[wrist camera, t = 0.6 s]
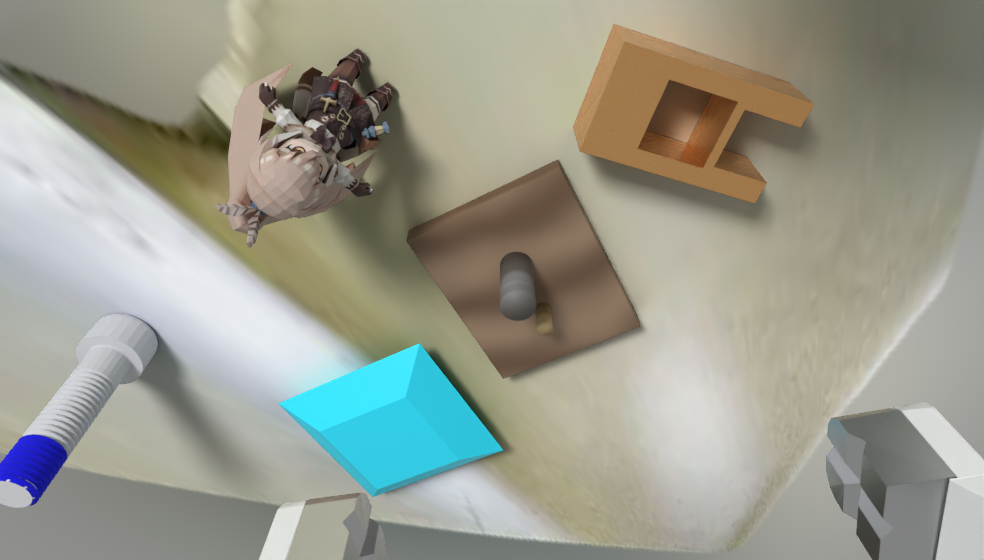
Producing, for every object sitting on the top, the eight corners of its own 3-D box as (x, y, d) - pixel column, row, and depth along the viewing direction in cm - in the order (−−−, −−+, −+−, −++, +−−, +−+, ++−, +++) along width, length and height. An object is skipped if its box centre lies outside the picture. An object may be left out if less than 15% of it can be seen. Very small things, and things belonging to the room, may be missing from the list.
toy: (441, 115, 42) (349, 274, 31) (358, 169, 47) (256, 322, 36) (340, -4, 38) (197, 134, 27) (261, 70, 43) (116, 210, 32)
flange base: (409, 230, 47) (397, 280, 42) (558, 159, 44) (566, 204, 39) (503, 366, 55) (503, 424, 49) (636, 314, 52) (652, 370, 46)
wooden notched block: (573, 127, 43) (579, 151, 39) (613, 24, 39) (624, 41, 36) (735, 176, 45) (754, 203, 41) (789, 82, 41) (814, 104, 38)
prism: (287, 382, 57) (270, 420, 53) (423, 324, 53) (415, 360, 49) (377, 479, 64) (367, 519, 60) (504, 434, 60) (503, 473, 56)
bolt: (159, 319, 52) (160, 363, 55) (94, 305, 51) (98, 351, 54) (48, 476, 39) (56, 524, 42) (-41, 461, 39) (-27, 511, 41)
